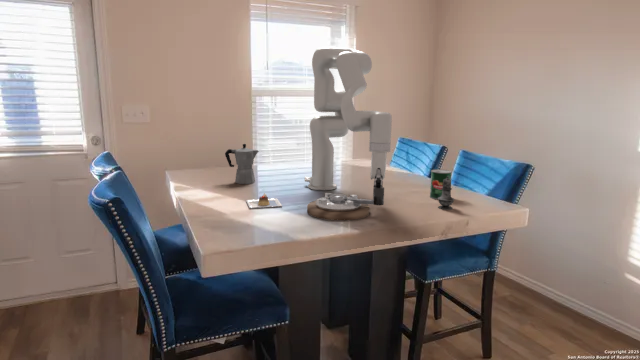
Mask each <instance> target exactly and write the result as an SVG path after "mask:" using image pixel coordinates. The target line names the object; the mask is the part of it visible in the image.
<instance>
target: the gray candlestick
mask: <svg viewBox="0 0 640 360" xmlns="http://www.w3.org/2000/svg"><path fill="white" fill-rule="evenodd" d="M452 190H453V188H452V179H451V180H450V179H449V178H448V176H447V178H446V179H444V180H443V188H442V196H441V197H438V199H439V200H438V199H437V200H438V203H439V205H438V206H437V209H439V210H442V211H443V210H444V211H451V210H454V208H453V207H452V206H451V205H453V203H454V201H455V199H454V198H453V197H452V195H451V194H452V192H451V191H452Z"/></svg>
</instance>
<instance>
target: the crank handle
mask: <svg viewBox="0 0 640 360" xmlns="http://www.w3.org/2000/svg"><path fill="white" fill-rule="evenodd" d="M373 188H374V192H373V193H372V199H370V198H369V199H368V198H365V199H364V198H359V197H358V195H357V194H349V196H348V195H346V194H343V193H331V192H326V193H325V192H324V197H319V198H317V199H316V200H315V201H316V207H317V208H319V209H322V210H327V211H336V212H345V211H353V210H357V209H359V208H361V204H368V205H372V206H373V205H374V206H384V204H385V187H374V186H373Z"/></svg>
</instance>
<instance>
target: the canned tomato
mask: <svg viewBox="0 0 640 360" xmlns="http://www.w3.org/2000/svg"><path fill="white" fill-rule="evenodd" d="M430 172H431V173H430V174H431V175H430V190H429V197H430V198H431V199H432V200H433V199H434V200H438V201H439V199H438V197H441V196H442V188H443V180H444V179H446V178H447V176H448V178H449V179H450V180H451V181H452V170H447V169H435V168H434V169H432V170H430Z"/></svg>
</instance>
